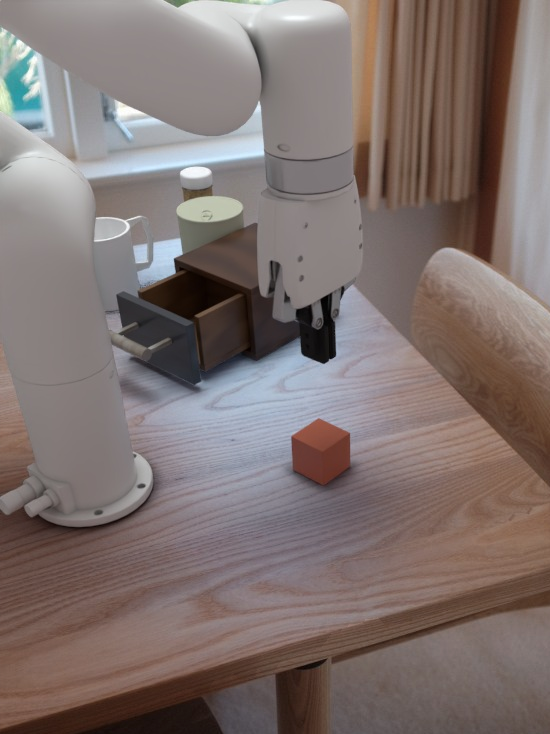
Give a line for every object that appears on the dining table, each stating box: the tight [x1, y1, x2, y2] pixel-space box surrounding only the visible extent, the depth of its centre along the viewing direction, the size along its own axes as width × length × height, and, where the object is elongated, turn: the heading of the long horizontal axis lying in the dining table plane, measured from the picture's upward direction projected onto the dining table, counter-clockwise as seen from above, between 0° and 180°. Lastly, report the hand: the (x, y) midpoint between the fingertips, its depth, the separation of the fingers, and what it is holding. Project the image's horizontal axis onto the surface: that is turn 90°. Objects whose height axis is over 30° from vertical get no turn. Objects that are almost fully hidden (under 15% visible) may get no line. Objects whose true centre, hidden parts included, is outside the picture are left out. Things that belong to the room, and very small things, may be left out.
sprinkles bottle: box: [179, 166, 214, 202], centre depth 133 cm, size 5×5×13 cm
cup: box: [93, 215, 154, 312], centre depth 126 cm, size 8×12×10 cm
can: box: [175, 195, 245, 255], centre depth 127 cm, size 9×9×12 cm
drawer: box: [109, 269, 251, 386], centre depth 112 cm, size 18×13×8 cm
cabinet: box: [173, 222, 308, 362], centre depth 119 cm, size 15×14×10 cm
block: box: [290, 417, 351, 486], centre depth 96 cm, size 4×4×4 cm
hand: (318, 356), depth 89 cm, fingers closed
